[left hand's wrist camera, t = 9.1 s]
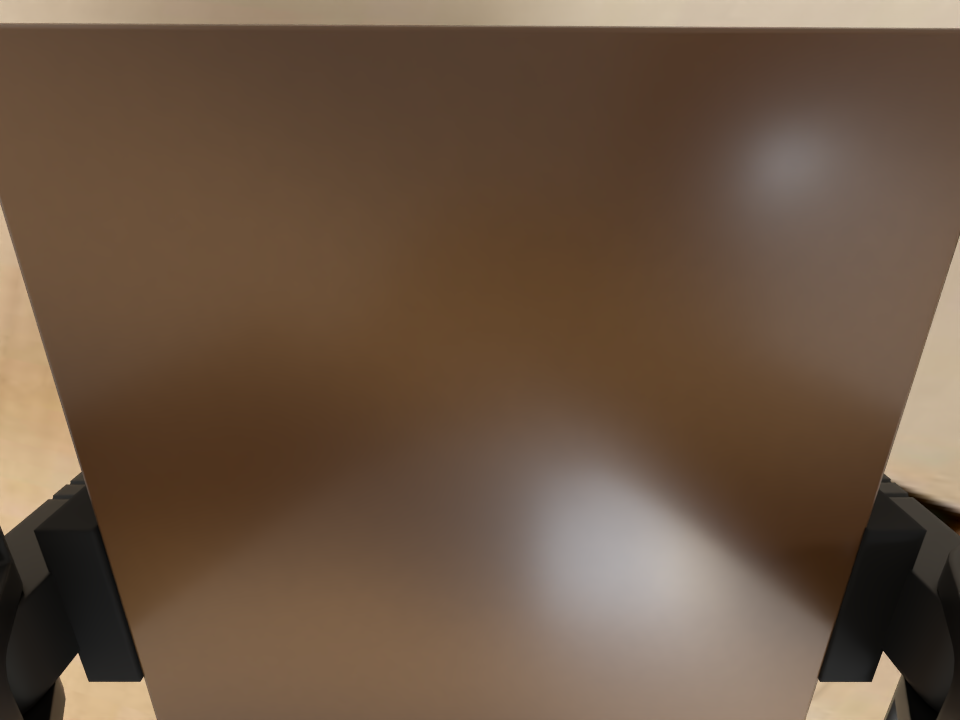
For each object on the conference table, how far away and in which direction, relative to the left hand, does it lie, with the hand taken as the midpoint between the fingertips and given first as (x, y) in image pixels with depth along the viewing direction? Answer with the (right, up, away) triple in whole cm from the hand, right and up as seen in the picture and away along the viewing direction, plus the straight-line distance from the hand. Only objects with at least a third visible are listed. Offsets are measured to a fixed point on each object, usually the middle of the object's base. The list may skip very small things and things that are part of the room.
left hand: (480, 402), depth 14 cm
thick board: (0, -31, +13) cm, 34 cm away
